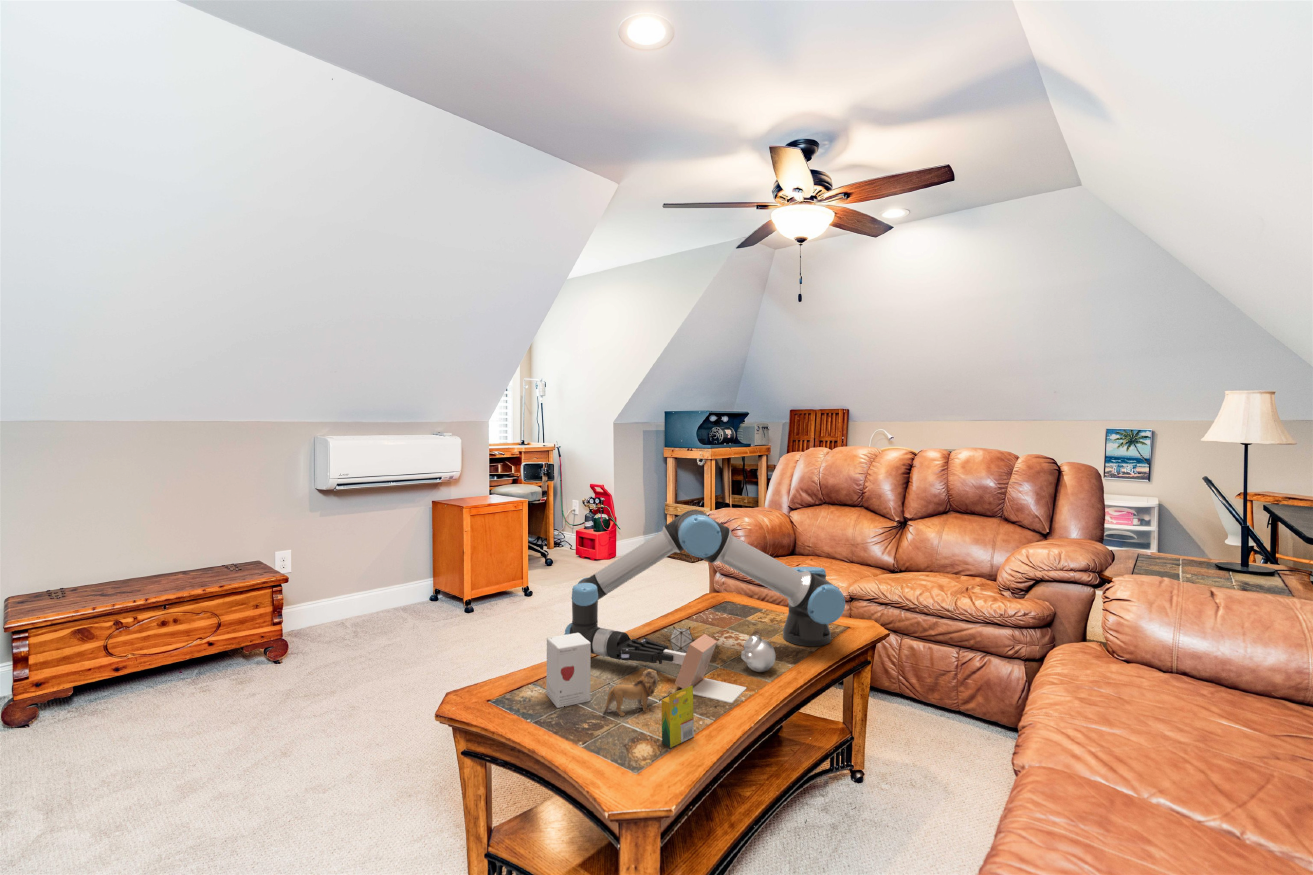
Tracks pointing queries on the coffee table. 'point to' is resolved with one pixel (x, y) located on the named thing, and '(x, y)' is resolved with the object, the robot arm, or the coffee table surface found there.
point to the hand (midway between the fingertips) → (685, 659)
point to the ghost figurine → (758, 654)
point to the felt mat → (718, 690)
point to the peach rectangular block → (696, 661)
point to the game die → (681, 639)
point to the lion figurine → (633, 692)
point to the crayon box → (677, 717)
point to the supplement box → (568, 669)
